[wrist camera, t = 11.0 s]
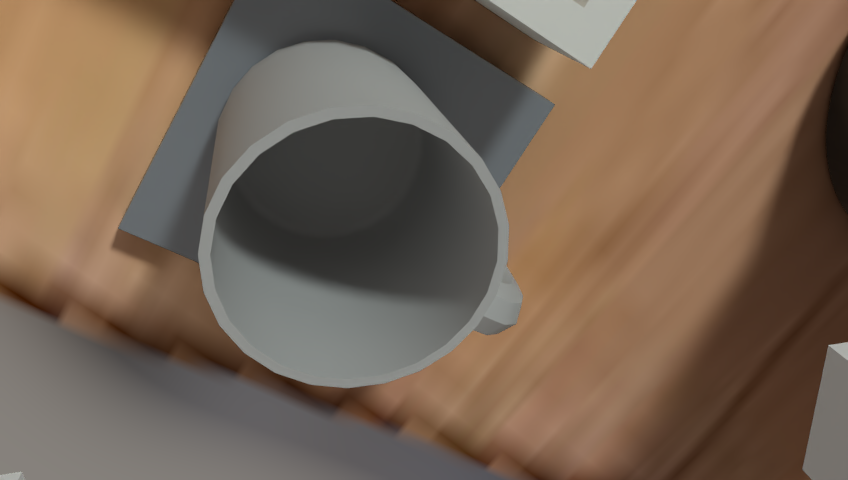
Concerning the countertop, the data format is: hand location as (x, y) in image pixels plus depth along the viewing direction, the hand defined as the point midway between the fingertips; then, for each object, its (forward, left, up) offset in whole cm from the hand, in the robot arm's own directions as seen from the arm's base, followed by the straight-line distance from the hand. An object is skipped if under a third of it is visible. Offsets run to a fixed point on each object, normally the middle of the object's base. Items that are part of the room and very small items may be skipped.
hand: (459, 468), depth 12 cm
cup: (0, 0, -15) cm, 15 cm away
